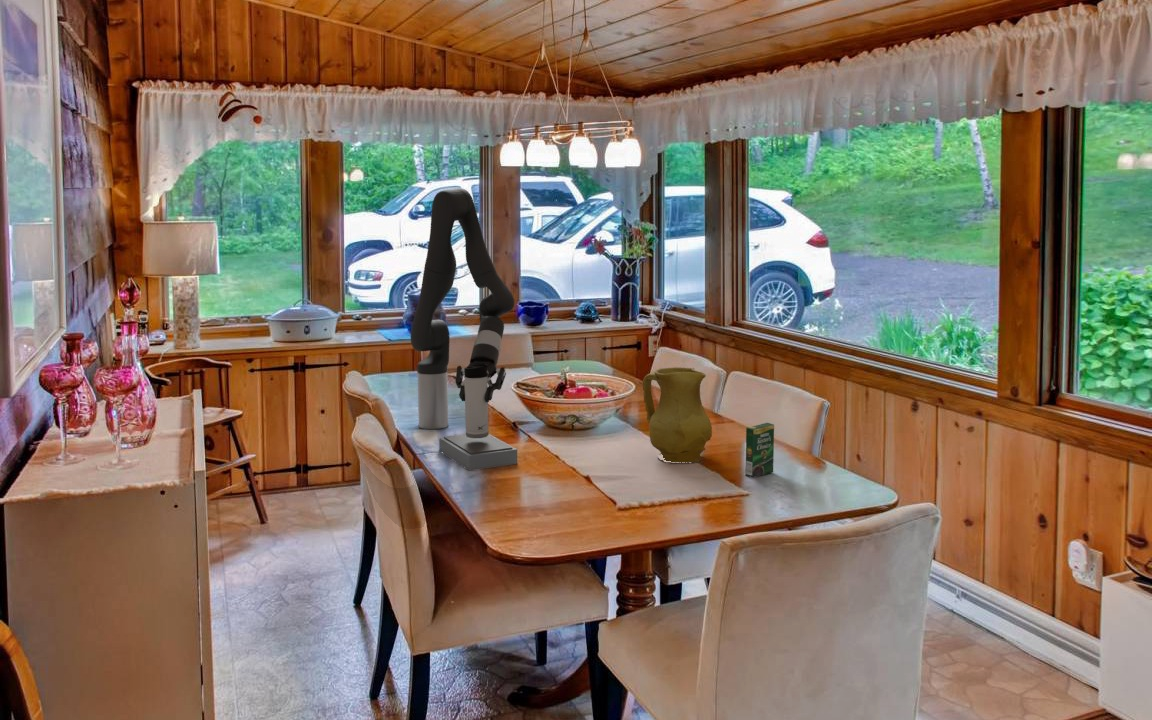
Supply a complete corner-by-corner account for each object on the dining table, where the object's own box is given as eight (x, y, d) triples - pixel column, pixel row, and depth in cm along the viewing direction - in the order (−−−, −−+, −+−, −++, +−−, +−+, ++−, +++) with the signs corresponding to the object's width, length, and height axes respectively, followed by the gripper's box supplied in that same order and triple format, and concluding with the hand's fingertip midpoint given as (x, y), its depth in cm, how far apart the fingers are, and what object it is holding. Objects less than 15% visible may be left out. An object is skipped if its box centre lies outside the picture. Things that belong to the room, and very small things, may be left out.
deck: (439, 451, 279) (439, 436, 278) (485, 445, 285) (484, 430, 285) (469, 470, 260) (468, 454, 259) (517, 463, 266) (517, 447, 266)
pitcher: (671, 468, 260) (672, 374, 257) (634, 455, 277) (635, 366, 274) (724, 462, 268) (725, 370, 265) (685, 449, 284) (687, 363, 282)
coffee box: (752, 478, 253) (753, 428, 251) (744, 475, 255) (745, 426, 253) (773, 473, 258) (775, 424, 255) (765, 470, 260) (767, 422, 258)
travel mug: (486, 439, 268) (484, 366, 264) (462, 437, 269) (460, 365, 266) (492, 433, 274) (491, 362, 270) (469, 432, 275) (468, 361, 272)
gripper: (458, 341, 276) (445, 391, 267) (508, 343, 273) (497, 393, 264) (465, 357, 282) (452, 406, 273) (513, 358, 279) (503, 408, 270)
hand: (474, 400), depth 268 cm, fingers closed on travel mug, 6 cm apart
